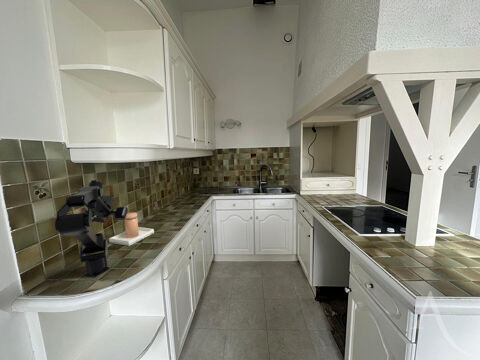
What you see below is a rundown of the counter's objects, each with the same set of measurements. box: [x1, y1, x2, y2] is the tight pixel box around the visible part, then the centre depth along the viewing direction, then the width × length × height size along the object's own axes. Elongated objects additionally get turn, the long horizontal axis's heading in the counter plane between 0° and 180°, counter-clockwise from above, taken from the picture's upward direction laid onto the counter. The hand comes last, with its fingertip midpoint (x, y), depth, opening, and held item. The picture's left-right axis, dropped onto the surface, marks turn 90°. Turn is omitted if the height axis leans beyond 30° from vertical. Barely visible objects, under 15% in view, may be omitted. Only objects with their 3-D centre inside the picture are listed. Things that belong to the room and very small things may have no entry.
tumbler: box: [124, 211, 139, 238], centre depth 118 cm, size 7×7×13 cm
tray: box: [108, 226, 155, 247], centre depth 119 cm, size 18×14×2 cm
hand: (113, 221), depth 106 cm, fingers open, 9 cm apart
